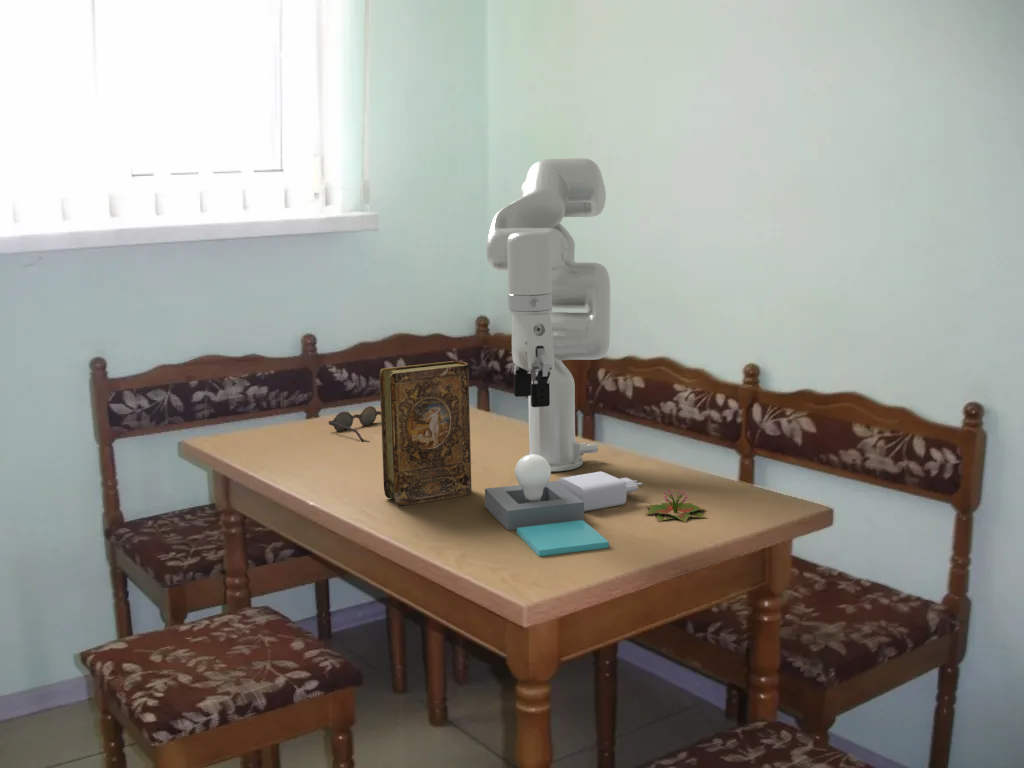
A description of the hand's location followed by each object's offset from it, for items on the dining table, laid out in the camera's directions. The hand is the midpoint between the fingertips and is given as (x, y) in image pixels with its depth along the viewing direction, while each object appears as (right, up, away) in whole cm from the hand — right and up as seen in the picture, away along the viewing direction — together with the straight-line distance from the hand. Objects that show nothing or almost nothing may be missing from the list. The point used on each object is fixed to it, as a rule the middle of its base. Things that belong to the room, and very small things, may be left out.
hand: (531, 401), depth 199 cm
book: (-19, -19, +16) cm, 31 cm away
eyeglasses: (-36, -9, +67) cm, 77 cm away
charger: (+14, -19, +12) cm, 26 cm away
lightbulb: (0, -21, +4) cm, 21 cm away
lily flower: (+26, -21, +4) cm, 33 cm away
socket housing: (0, -20, +4) cm, 21 cm away
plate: (+5, -23, -10) cm, 25 cm away
